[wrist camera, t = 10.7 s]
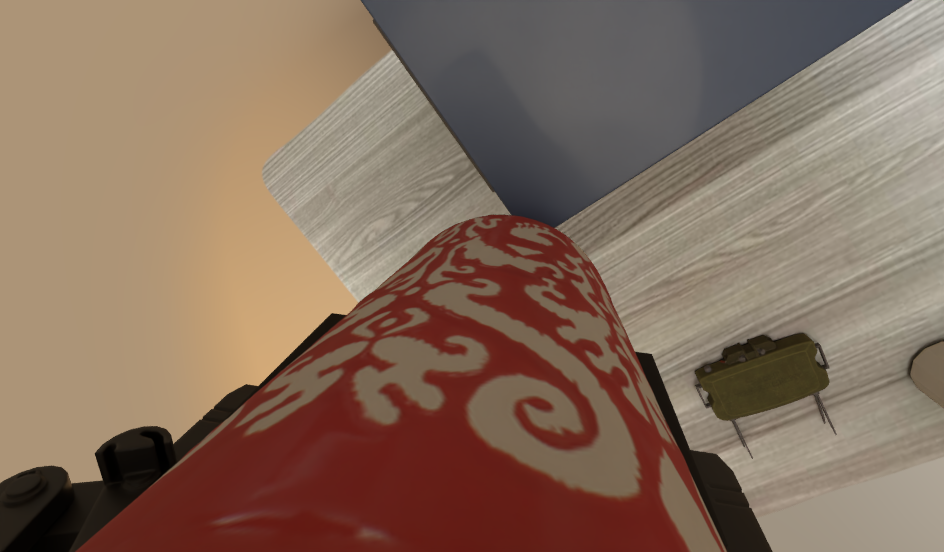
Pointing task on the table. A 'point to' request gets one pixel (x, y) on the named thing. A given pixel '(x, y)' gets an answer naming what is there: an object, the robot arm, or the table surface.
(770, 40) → the x-leg side table
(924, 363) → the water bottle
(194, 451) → the mug
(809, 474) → the table surface
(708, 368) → the landmine
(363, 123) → the table surface
